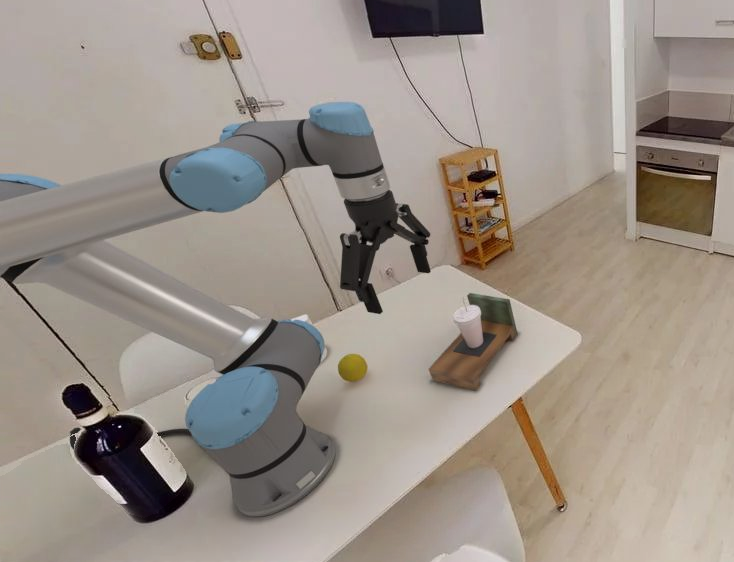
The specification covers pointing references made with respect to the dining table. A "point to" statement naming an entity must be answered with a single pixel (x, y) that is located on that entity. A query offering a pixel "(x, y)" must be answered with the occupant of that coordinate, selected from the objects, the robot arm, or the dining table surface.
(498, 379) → the dining table surface
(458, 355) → the wooden board with backrest
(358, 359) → the lemon
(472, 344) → the smoothie
